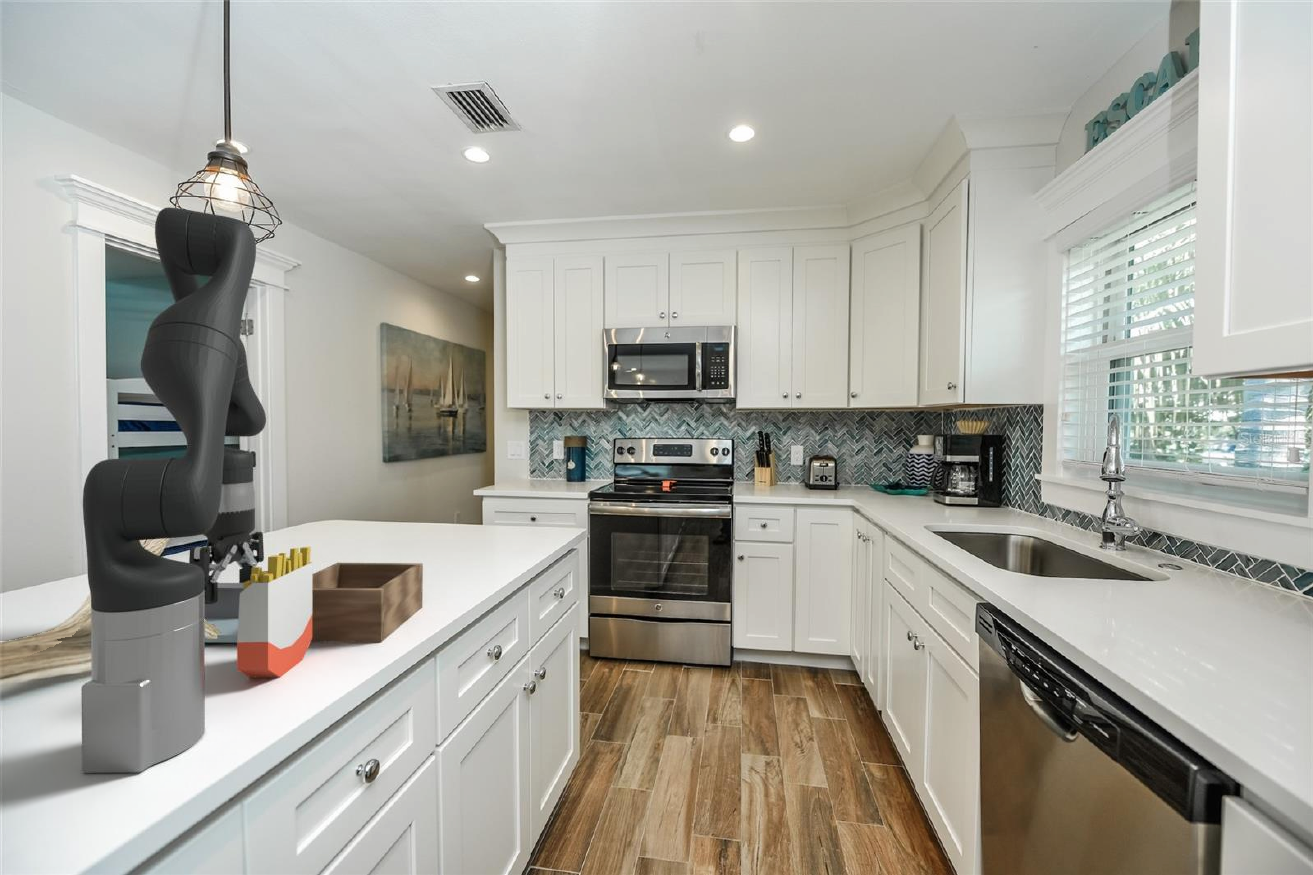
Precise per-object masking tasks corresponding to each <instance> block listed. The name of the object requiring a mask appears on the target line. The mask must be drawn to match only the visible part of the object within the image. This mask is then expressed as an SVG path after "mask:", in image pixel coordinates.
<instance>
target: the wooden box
mask: <svg viewBox="0 0 1313 875" xmlns="http://www.w3.org/2000/svg"><path fill="white" fill-rule="evenodd" d="M423 565H424V564H423V563H422V562H420V563H419V562H418V563H417V562H416V563H414V562H408V563H407V562H406V563H405V562H404V563H403V562H402V563H401V562H336V563H334V564H332V565H329V566H327V567H324V568H323V569H320V570H319V571H316V572H315V573H312V639H311V642H310V643H382V642H383V641H384V640H386V639H387V638H388V637H389V636H390V635H392V633H394V632H395V631H396V630H398V628H400V627H401V626H402V625H403V624H404V623H406V622H407V621H408V620H409V619H410V618H411V617H412V616H414V615H415V614H416V613H417V612H419V611H420V610H421V609H422V608H423V597H424V596H423V591H424V590H423V584H424V583H423V580H424V578H423V576H424V574H423V572H424V571H423V570H424V569H423V568H424V566H423Z"/></svg>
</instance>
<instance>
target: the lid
mask: <svg viewBox="0 0 1313 875" xmlns="http://www.w3.org/2000/svg"><path fill="white" fill-rule="evenodd" d="M243 590H244V584H243V583H239V582H218V601H217V602H216V603H214V604H205V615H204V619H205V620H206V621H207V622H209V623H212V624H214V625H215V626H216V627H217V628H218V629H219V630H220V632H223V633H220V634H219V635H217V637H218V638H217V639H207V638H205V643H237V636H238V618H239V600H240V593H241V592H242V591H243Z"/></svg>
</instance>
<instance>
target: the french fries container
mask: <svg viewBox="0 0 1313 875" xmlns="http://www.w3.org/2000/svg"><path fill="white" fill-rule="evenodd" d="M311 551H312V550H311V546H302V547H292V548H290V549H289V557H287V552H280V553H279V554H278V555H276V554H273V555H270V556H268V557H267V570H264V571H263V567H257V566H256V567H255V568H252V574H251V581H246V582H244V583H243V584H244V590H243V591H242V592H241V593H240V600H239V618H238V636H237V642H236V669H237V671H238V672H240V673H242V674H244V675H245V676H246V677H247V678H249V679H260V678H261V679H262V678H267V679H268V678H281V677H282V676H284V675H285V674H286V673H288V672H290V670H291V669H293V668H295V666H297V665H298V664H299V663H301V662H302V661H303V659H304V658H305V655H306V653H307V650H308V649H309V647H310V644H311V643H312V642H311V639H312V574H313V561H311Z"/></svg>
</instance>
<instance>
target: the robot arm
mask: <svg viewBox="0 0 1313 875" xmlns="http://www.w3.org/2000/svg"><path fill="white" fill-rule="evenodd" d="M154 236H155V245H156V249H157V254H158V257H159V260H160V263H161V267H162V269H163V272H164V274H165V277H166V280H167V283H168V286H169V289H170V291H171V295H172V297H173V300H174V302H175V303H173V304H171V305H170V306H168V307H167V308H166V309H164V310H163V311H162V312H160V313H159V314H158V315H157V316H156V317H155V318H154V320H152V322H151V324H150V326H149V327H148V331H147V335H146V340H145V344H144V347H143V351H142V354H141V360H140V371H141V373H142V377H143V379H144V380H145V383H146V384H147V386H148V387H149V388H150V389H151V391H152V392H153V394H154V395H155V397H156V398H157V399H158V400H159V401H160V402H161V403H162V405H163V406H164V407H165V408H166V410H167V411H168V412H169V413H170V414H171V416H172V417H173V418H174V420H175V421H176V423H177V425H178V426H179V428H180V430H181V431H182V433H183V435H184V438H185V440H186V452H185V454H184V455H183V456H181V457H151V458H150V457H142V458H141V457H136V458H134V457H132V458H111V459H110V458H109V459H105V460H100V461H99V462H97V463H96V464H95V465H93V467H92V468H90V470H89V472H88V474H87V475H86V478H85V482H84V486H83V492H82V514H83V515H82V517H83V525H84V535H85V536H84V539H85V546H86V557H87V558H86V560H87V561H86V562H87V566H86V567H87V581H88V587H89V593H90V608H91V609H90V618H91V619H90V620H91V622H90V626H91V630H90V631H91V632H90V633H91V634H90V639H91V640H90V642H91V643H90V646H91V647H90V648H91V649H90V651H91V653H90V654H91V655H90V656H91V658H90V659H91V660H90V662H91V669H90V670H91V680H89V681H87V682H85V683H84V684H82V685H81V690H80V691H81V772H82V773H83V774H84V773H85V774H86V773H93V774H95V773H99V774H102V773H140V772H143V771H145V770H146V769H148V768H149V767H151V766H153V765H155V764H158V763H160V762H164V761H165V760H169V759H170V758H171V759H172V758H173V757H175V756H177V755H179V754H181V753H183V752H185V751H186V750H188V749H189V748H191V747H192V746H194V745H195V744H196V743H197V742H199V740H201V739H202V738H203V736H204V734H205V731H206V716H205V715H206V713H205V712H206V709H205V708H206V702H205V701H206V698H205V697H206V694H205V692H206V691H205V688H206V687H205V681H206V678H205V677H206V674H205V673H206V672H205V669H206V668H205V666H206V664H205V663H206V661H205V660H206V659H205V655H206V654H205V643H206V642H205V624H204V615H205V604H214V603H216V602H217V601H218V583H219V582H218V579H219V577H220V576H221V574H222V572H223V571H225V570H226V569H227V567H228V565H231V564H233V563H234V562H236V564H237V565H238V566H239V567H240V568H239V570H238V583H244V582H246V581H251V574H252V568H256V567H257V566H258V564H259V563H262V562H264V559H265V554H264V553H265V552H264V533H263V532H262V531H254V530H255V529H256V493H255V492H256V491H255V486H254V455H253V454H252V452H250V451H248V450H244V449H239V448H237V449H236V448H232V447H228V446H225V442H226V441H225V440H226V437H235V438H236V437H238V438H239V437H243V438H244V437H245V438H247V437H255V436H258V435H259V434H260V433H261V432H262V431H263V430H264V429H265V426H266V422H267V417H266V416H267V415H266V411H265V409H264V407H263V405H262V403H261V401H260V399H259V397H258V396H257V394H256V392H255V390H254V388H253V386H252V383H251V381H250V377H249V368H248V367H249V366H248V360H247V358H248V357H247V351H246V349H245V348H246V347H245V344H244V343H243V341H242V339H241V331H242V330H241V329H242V320H243V311H244V308H245V302H246V301H247V300H246V299H247V295H248V291H249V288H250V283H251V281H252V276H253V274H254V269H255V265H256V264H255V263H256V257H257V256H256V255H257V242H256V239H255V235H254V232H253V230H252V229H251V227H250V226H249V225H248V224H247V223H246V222H244V221H242V220H240V219H238V218H237V219H236V218H234V217H230V216H225V215H220V214H214V213H209V212H208V213H207V212H202V211H196V210H191V209H185V208H179V207H164V208H162V209H161V210H160V211H159V212H158V214H157V216H156V219H155V224H154ZM197 276H200V277H207V278H210V279H209V280H208V281H207V282H206V284H204V285H202V286H201V287H200V285H199V283H198V280H197ZM202 535H203V536H204V537H206V538H207V542H206V545H204V546H192V547H190V550H189V556H188V557H189V559H188V562H185V561H180V560H177V559H176V560H174V559H170V558H166V557H163V556H160V555H158V554H156V553H154V552H151V551H149V549H146V548H145V547H144V546H143V545H142V544H141V541H147V540H162V539H172V538H174V539H175V538H189V537H195V536H196V537H197V536H202ZM254 551H256V555H255V553H254ZM210 572H211V575H210Z"/></svg>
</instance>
